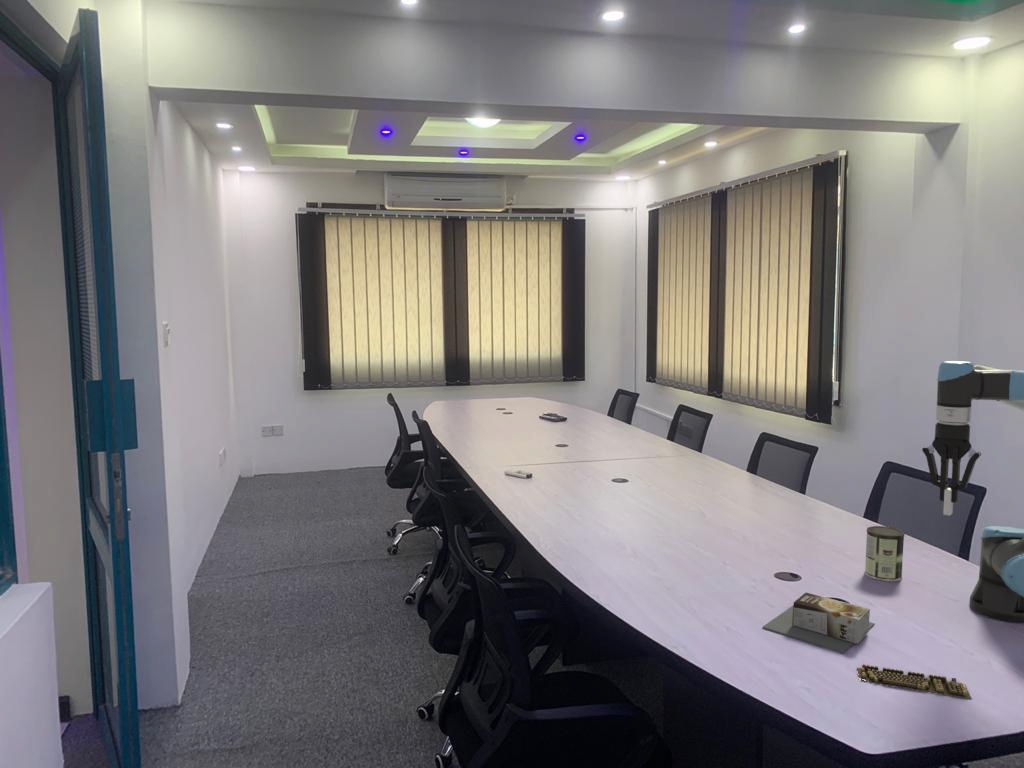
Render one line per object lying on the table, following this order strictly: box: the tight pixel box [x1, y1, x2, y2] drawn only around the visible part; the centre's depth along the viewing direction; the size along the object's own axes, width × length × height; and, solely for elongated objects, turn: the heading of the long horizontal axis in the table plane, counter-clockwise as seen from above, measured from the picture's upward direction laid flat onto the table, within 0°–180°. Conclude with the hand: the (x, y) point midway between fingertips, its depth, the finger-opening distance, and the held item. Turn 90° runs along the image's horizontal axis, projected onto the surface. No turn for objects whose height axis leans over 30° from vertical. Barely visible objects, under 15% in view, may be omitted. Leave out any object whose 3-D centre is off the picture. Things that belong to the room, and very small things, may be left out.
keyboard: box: [856, 663, 973, 700], centre depth 162 cm, size 22×9×2 cm, turn 69°
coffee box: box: [792, 592, 871, 645], centre depth 186 cm, size 9×6×16 cm
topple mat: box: [762, 605, 875, 654], centre depth 189 cm, size 20×22×1 cm
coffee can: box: [864, 525, 905, 582], centre depth 224 cm, size 10×10×14 cm
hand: (947, 513), depth 188 cm, fingers closed
